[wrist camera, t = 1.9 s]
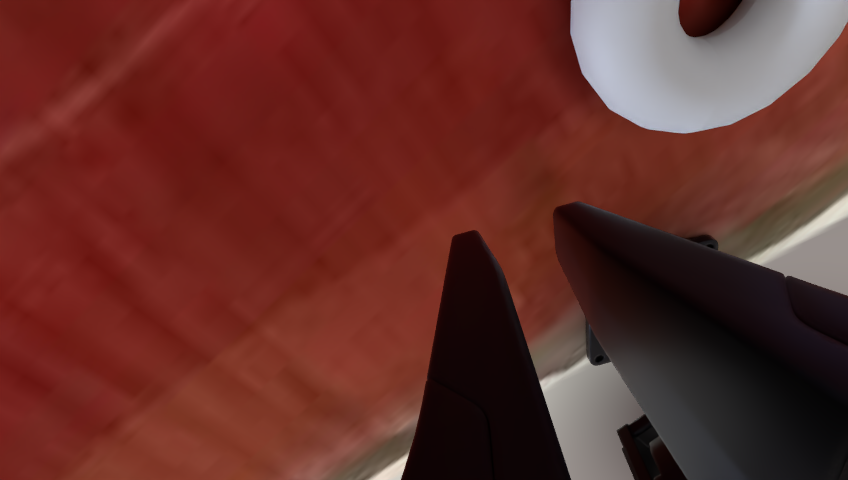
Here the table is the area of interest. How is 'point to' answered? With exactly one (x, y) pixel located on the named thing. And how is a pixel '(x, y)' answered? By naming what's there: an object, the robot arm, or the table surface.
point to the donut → (699, 58)
